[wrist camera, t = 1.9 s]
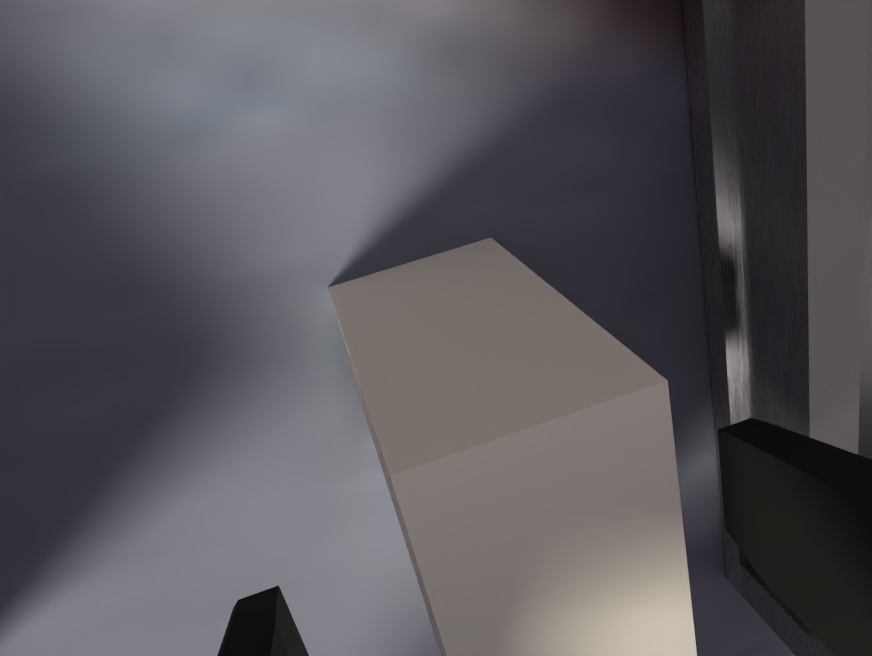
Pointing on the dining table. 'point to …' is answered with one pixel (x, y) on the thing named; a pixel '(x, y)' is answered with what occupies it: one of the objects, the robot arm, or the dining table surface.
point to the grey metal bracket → (785, 229)
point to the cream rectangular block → (520, 460)
